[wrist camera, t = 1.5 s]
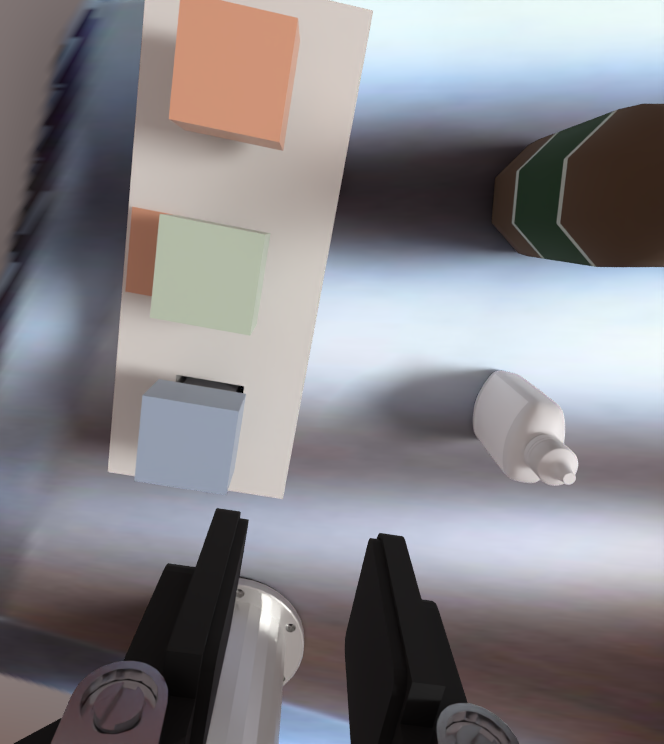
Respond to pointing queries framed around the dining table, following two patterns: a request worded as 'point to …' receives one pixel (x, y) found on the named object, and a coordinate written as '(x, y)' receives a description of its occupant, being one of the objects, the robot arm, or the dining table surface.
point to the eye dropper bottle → (523, 431)
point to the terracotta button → (234, 71)
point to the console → (245, 210)
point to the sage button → (208, 274)
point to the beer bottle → (589, 192)
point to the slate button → (189, 434)
